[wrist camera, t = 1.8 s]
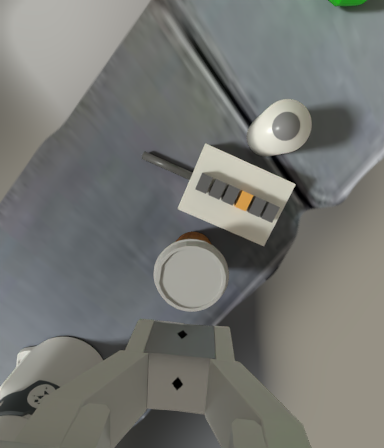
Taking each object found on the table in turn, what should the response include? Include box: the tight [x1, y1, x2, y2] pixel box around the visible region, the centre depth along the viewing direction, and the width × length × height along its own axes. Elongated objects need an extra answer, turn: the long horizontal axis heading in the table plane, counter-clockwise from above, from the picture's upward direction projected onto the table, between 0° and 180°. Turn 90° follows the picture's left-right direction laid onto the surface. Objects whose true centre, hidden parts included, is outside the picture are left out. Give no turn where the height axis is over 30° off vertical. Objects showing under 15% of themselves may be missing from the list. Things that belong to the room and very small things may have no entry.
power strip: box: [142, 143, 296, 246], centre depth 38 cm, size 10×22×6 cm, turn 67°
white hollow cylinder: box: [247, 99, 312, 157], centre depth 35 cm, size 6×6×9 cm
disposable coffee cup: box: [154, 232, 229, 311], centre depth 38 cm, size 10×10×12 cm
